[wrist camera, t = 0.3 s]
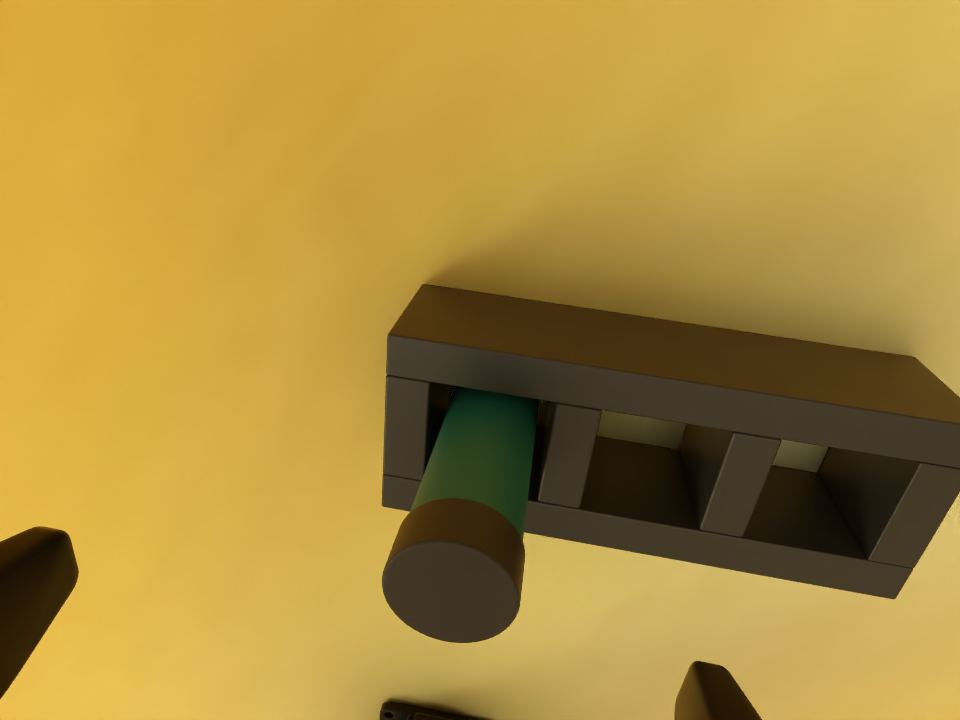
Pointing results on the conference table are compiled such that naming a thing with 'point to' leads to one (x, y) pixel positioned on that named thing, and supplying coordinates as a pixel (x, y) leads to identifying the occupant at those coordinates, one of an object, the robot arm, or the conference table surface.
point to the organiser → (690, 436)
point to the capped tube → (467, 522)
